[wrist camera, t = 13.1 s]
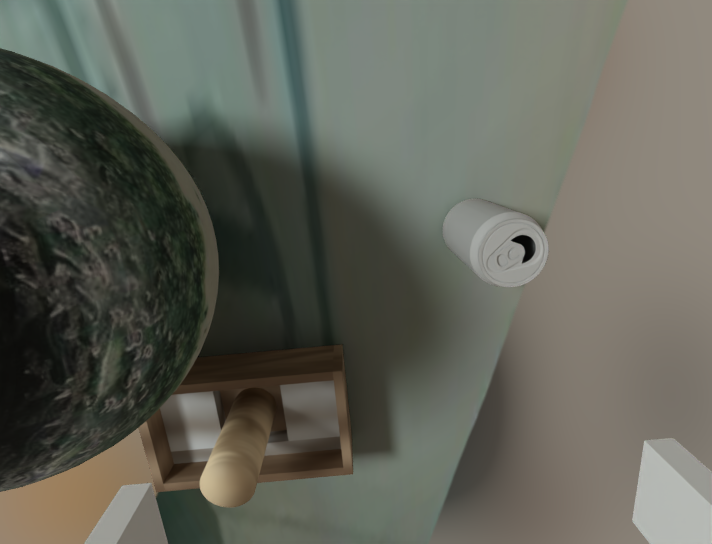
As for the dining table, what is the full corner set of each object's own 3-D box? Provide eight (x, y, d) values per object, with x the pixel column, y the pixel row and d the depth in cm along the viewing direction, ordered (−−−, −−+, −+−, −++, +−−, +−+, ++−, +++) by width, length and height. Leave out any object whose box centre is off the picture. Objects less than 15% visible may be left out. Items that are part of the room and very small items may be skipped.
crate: (154, 361, 47) (128, 390, 42) (342, 344, 48) (342, 370, 42) (177, 453, 51) (156, 492, 45) (352, 437, 51) (353, 474, 46)
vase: (307, 193, 43) (232, 279, 14) (180, 392, 49) (-54, 739, 20) (44, 17, 37) (-952, -428, 9) (-61, 266, 44) (-843, 488, 15)
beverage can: (508, 237, 45) (566, 267, 33) (456, 266, 45) (495, 305, 34) (484, 186, 43) (535, 199, 31) (430, 217, 44) (461, 240, 32)
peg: (237, 425, 49) (205, 509, 38) (230, 389, 48) (194, 465, 36) (279, 422, 49) (259, 504, 38) (273, 385, 48) (250, 460, 36)
